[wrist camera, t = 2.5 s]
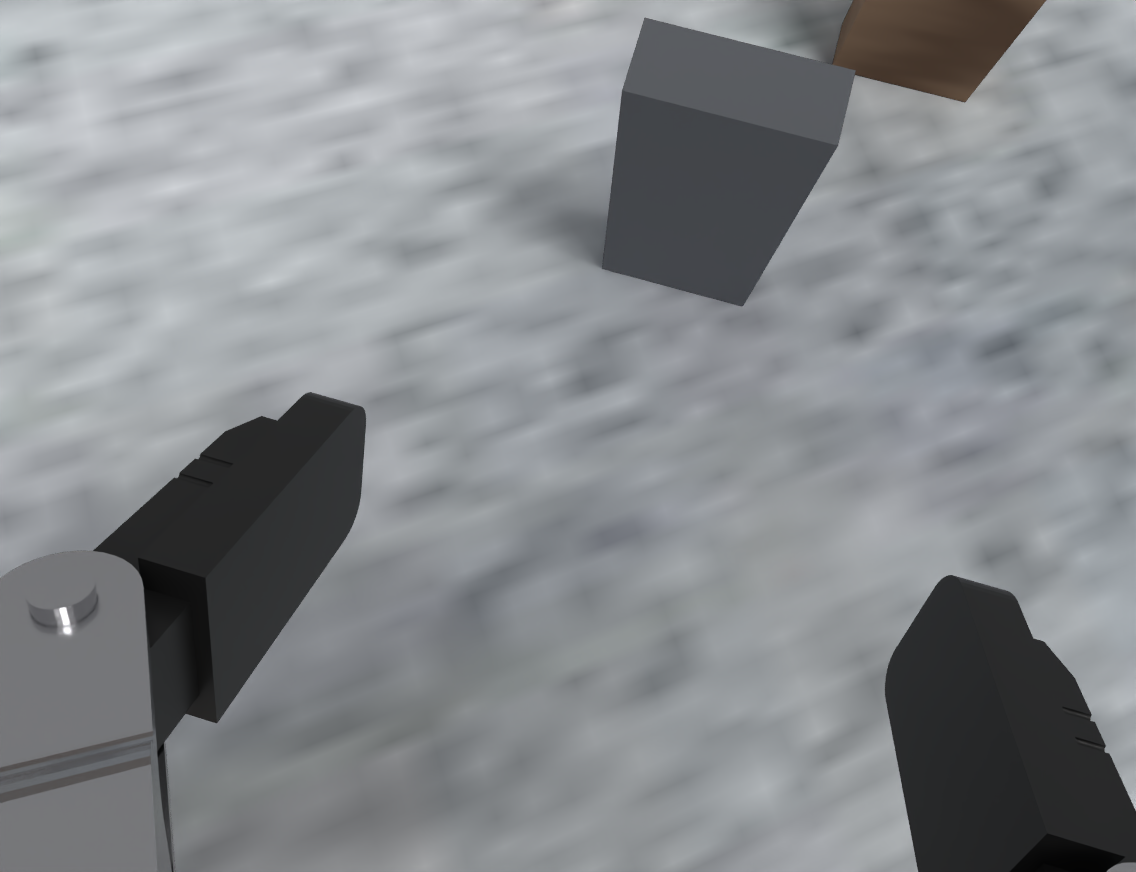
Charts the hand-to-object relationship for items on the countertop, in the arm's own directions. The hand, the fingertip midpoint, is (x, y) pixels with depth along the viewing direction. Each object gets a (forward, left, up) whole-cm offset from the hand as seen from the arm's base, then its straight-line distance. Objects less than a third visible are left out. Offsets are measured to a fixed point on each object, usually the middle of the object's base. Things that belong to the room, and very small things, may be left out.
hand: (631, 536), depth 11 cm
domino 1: (0, -11, -14) cm, 18 cm away
